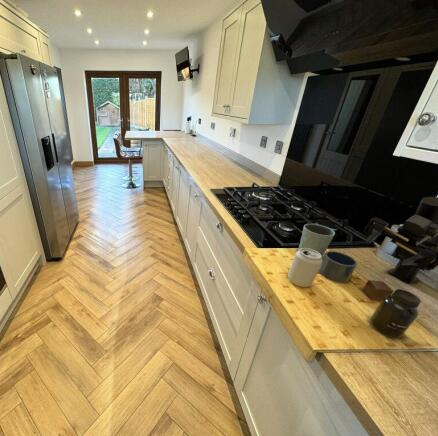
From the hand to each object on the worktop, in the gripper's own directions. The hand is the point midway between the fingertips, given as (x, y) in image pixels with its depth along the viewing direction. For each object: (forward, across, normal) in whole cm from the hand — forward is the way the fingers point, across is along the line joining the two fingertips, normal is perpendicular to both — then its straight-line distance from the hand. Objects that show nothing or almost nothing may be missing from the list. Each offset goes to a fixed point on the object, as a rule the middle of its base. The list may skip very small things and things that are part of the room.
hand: (382, 252), depth 71 cm
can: (+18, -9, +13) cm, 24 cm away
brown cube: (+2, +6, +15) cm, 16 cm away
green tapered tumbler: (0, -18, +21) cm, 27 cm away
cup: (+3, -6, +17) cm, 19 cm away
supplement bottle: (+13, +13, +10) cm, 22 cm away
